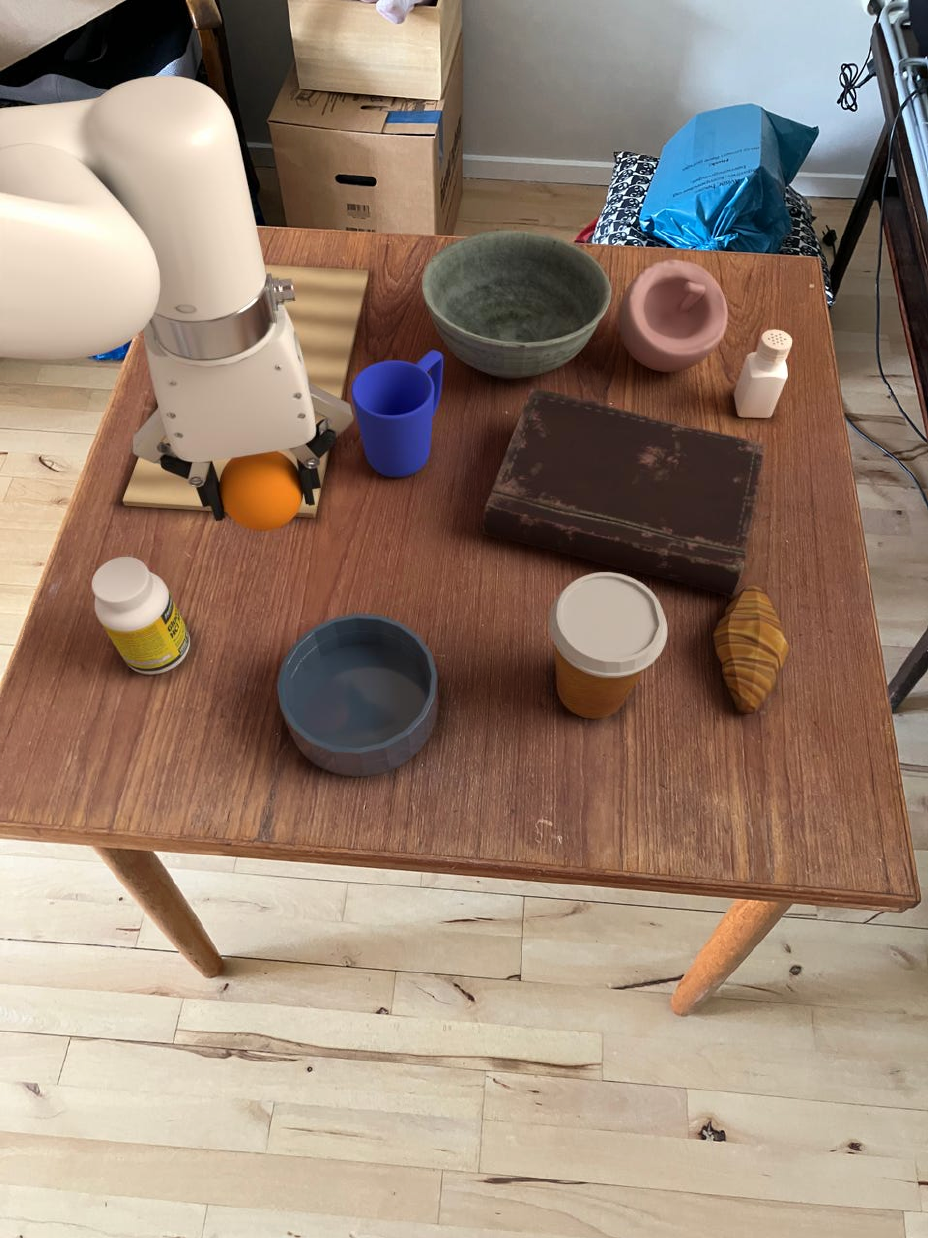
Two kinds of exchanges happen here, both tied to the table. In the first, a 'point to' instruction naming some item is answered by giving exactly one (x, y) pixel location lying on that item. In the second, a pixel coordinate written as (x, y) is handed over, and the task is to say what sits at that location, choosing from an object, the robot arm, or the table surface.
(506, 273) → the bowl
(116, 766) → the table surface
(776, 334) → the salt shaker
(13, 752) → the table surface
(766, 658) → the croissant
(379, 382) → the mug
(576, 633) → the disposable coffee cup
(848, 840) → the table surface
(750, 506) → the diary
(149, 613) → the pill bottle
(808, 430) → the table surface
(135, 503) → the serving board
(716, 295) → the mortar and pestle
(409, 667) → the fruit bowl
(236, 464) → the orange
